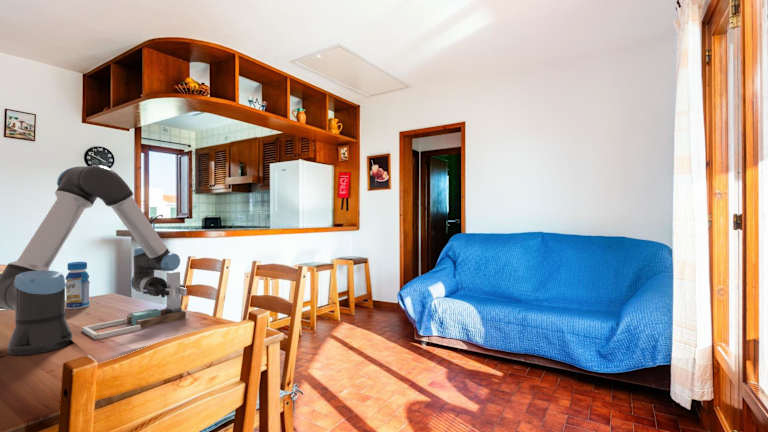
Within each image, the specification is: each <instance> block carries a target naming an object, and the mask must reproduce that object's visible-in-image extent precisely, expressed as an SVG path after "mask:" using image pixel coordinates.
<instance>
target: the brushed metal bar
mask: <svg viewBox="0 0 768 432" xmlns="http://www.w3.org/2000/svg"><path fill="white" fill-rule="evenodd" d="M165 272H166V282H167V288H168V289H172V290H175V298H172V297H168V296H166V307H165V308H164V309H165V313H166V314H171V313H176V312H181V311H183V309H182V307H181V295H180V284H181V271H178V270H173V271H165Z"/></svg>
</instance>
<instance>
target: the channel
mask: <svg viewBox="0 0 768 432" xmlns="http://www.w3.org/2000/svg"><path fill="white" fill-rule="evenodd" d="M159 310H160V311H161V316H156V317H152V318H147V319H142V320H137V325H141V329H144V328H149V327H153V326H154V327H155V326H157V325H162V324H167V323H171V322H176V321H179V320H180V321H181V320H184V319H185V320H186V319H187V314H186V313H187V312H186V311H184V310H182V311H181V312H176V313H171V314H166V313H165V308H163V309H159ZM126 320H127V323H126V324H127V325H130V326H134V325H132V314H131V315H126Z"/></svg>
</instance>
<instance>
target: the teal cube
mask: <svg viewBox="0 0 768 432" xmlns="http://www.w3.org/2000/svg"><path fill="white" fill-rule="evenodd" d="M144 311H145V310H143V311H138V312H134V313H131V315H132V325H134V326H136V325H137V320H142V319H147V318H148V313H147V312H144ZM132 325H131V326H132Z"/></svg>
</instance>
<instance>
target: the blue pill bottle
mask: <svg viewBox="0 0 768 432" xmlns="http://www.w3.org/2000/svg"><path fill="white" fill-rule="evenodd" d="M87 269H88V262H87V261H72V262H68V263H67V271H68V273H67V275H66V276H65V309H67V310H79V309H83V308H87V307H89V306H90V283H91V282H90V280H89V278H90V275H89V272H87V271H86V270H87Z"/></svg>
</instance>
